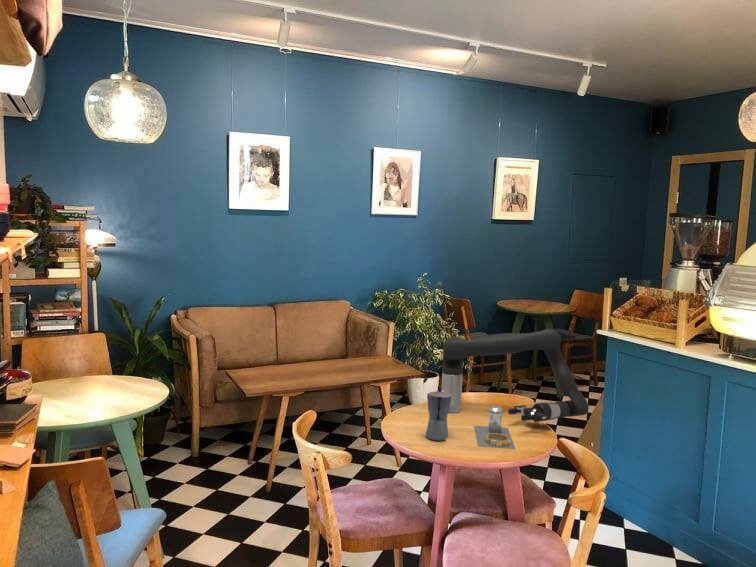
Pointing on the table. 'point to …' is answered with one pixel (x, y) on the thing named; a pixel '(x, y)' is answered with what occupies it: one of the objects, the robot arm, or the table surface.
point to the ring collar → (497, 443)
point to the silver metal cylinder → (495, 419)
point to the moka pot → (438, 415)
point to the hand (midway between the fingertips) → (515, 414)
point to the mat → (480, 437)
